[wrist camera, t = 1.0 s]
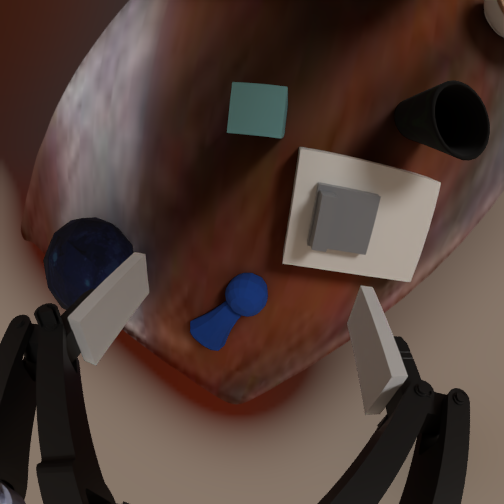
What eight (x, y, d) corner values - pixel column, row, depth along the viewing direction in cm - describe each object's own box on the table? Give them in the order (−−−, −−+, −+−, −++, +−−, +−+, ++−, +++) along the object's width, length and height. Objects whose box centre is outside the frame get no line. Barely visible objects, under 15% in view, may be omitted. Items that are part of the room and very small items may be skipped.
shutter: (317, 182, 29) (321, 188, 26) (377, 194, 28) (387, 202, 25) (306, 241, 32) (308, 254, 29) (363, 250, 32) (370, 264, 28)
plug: (254, 101, 30) (232, 82, 17) (287, 105, 29) (287, 86, 17) (251, 132, 31) (226, 132, 19) (283, 136, 31) (281, 138, 18)
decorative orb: (78, 179, 31) (10, 263, 24) (159, 240, 33) (91, 339, 26) (91, 221, 43) (43, 286, 36) (154, 268, 46) (107, 339, 39)
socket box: (299, 146, 31) (300, 148, 28) (427, 176, 30) (440, 182, 26) (283, 250, 37) (282, 263, 34) (400, 268, 36) (410, 282, 33)
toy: (221, 337, 47) (279, 289, 40) (212, 362, 41) (276, 316, 35) (190, 314, 46) (244, 260, 39) (177, 339, 40) (235, 285, 34)
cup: (422, 159, 29) (473, 176, 18) (377, 126, 29) (419, 127, 18) (443, 115, 26) (498, 116, 15) (401, 80, 25) (447, 64, 15)
